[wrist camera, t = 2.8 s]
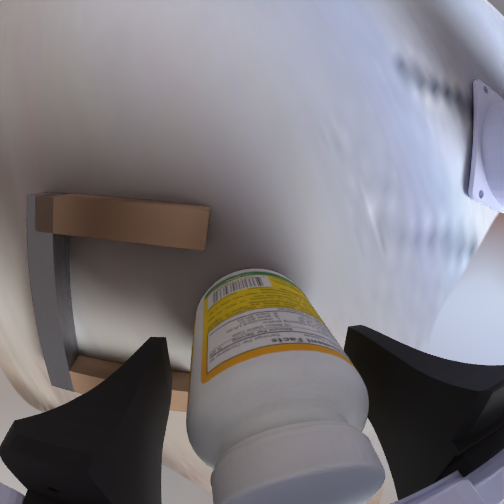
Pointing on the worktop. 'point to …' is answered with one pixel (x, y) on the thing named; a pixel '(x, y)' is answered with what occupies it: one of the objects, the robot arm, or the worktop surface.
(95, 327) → the worktop surface
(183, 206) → the walnut dock
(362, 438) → the supplement bottle
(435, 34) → the worktop surface
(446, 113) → the worktop surface
